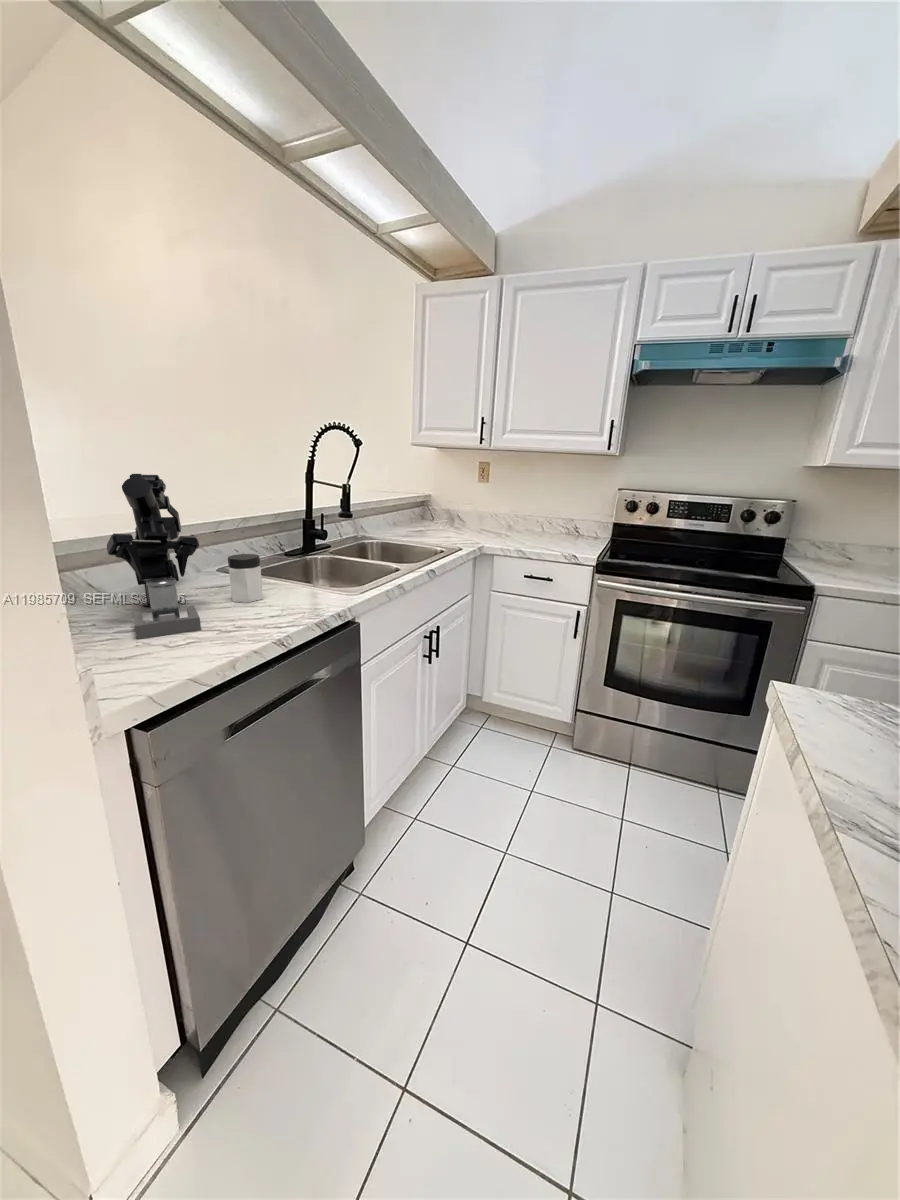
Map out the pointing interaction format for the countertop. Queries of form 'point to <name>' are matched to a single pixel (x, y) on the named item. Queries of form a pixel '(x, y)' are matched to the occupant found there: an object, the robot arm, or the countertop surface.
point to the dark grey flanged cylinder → (163, 597)
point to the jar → (245, 577)
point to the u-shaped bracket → (167, 624)
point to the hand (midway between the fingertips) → (162, 576)
